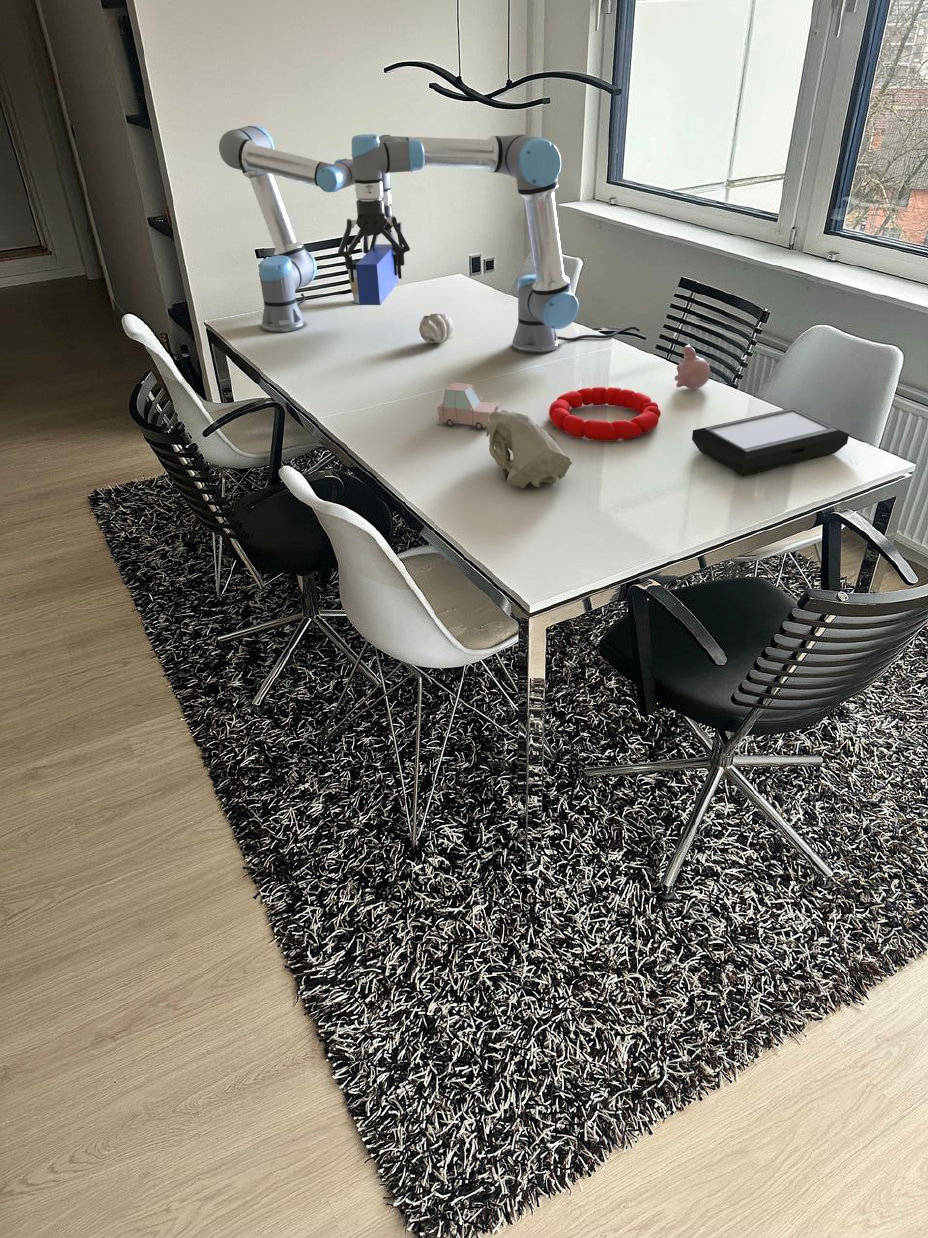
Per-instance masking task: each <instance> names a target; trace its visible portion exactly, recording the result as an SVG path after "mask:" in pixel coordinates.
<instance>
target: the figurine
mask: <svg viewBox="0 0 928 1238" xmlns="http://www.w3.org/2000/svg"><path fill="white" fill-rule="evenodd" d="M682 354H683V358H684V359H683V361H682V362H679V363H678V364H677V365H676V372H677V375H675V376H674V381H675V382H676V381H677V382H676V384H675V386H676V388H681V387H686V388H688V389H693V390H694V389H695V390H696V389H700V388H703V387H704V386H705V385H706V384H707V383H708V382H709V379H710V377H711V367H710V364H709V362H708V361H706V359H704V358H702V357H700V356H697V353H696V350H695V349H694V347H692V345H690V344H686V345H685V346H684V347H683V348H682Z"/></svg>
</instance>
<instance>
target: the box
mask: <svg viewBox="0 0 928 1238" xmlns="http://www.w3.org/2000/svg"><path fill="white" fill-rule="evenodd" d="M394 255H395V252H394V249H393V247H392V245H391V243H384V244H382V243H376V245H375V246H374V247H373V248H372V249H371V250H370V251H369V252H368V253H367V254H366V253H365V255H364V256H363V257H361V258H360V259H361V260H360V261H359V262H358V263H357V264H356V273H357V284H358V295H359V306H381V304H382V303H383V302H384V301H385V299H386V298H387V297H388V296H389V295H390V293H391V292H392V291H393V289H394V288H395V287H396V286H397V285H398V283H399V278H398V275H395V269H394Z"/></svg>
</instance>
